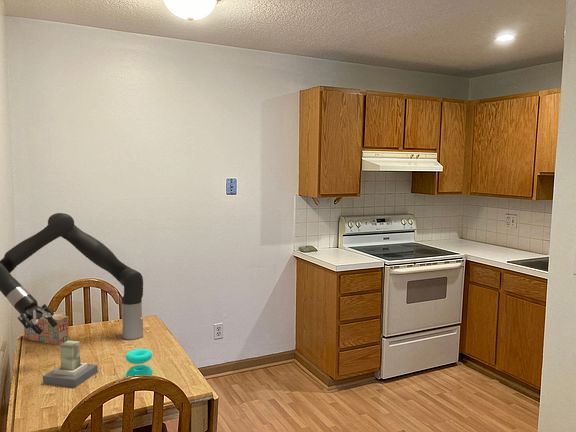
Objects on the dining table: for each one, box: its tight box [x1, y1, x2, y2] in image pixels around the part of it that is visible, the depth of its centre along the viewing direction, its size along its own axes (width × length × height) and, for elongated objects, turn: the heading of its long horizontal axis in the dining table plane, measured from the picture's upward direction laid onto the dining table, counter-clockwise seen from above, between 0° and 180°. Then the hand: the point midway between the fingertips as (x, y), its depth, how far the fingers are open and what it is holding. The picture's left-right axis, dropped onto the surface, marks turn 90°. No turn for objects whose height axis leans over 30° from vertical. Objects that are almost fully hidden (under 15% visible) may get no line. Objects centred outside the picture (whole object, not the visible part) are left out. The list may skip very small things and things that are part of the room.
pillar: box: [59, 340, 81, 371], centre depth 186 cm, size 5×5×11 cm
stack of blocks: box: [23, 312, 69, 346], centre depth 228 cm, size 21×6×12 cm, turn 70°
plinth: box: [42, 362, 99, 388], centre depth 187 cm, size 14×14×4 cm
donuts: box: [125, 348, 154, 378], centre depth 188 cm, size 10×10×10 cm
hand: (48, 329), depth 192 cm, fingers open, 8 cm apart
